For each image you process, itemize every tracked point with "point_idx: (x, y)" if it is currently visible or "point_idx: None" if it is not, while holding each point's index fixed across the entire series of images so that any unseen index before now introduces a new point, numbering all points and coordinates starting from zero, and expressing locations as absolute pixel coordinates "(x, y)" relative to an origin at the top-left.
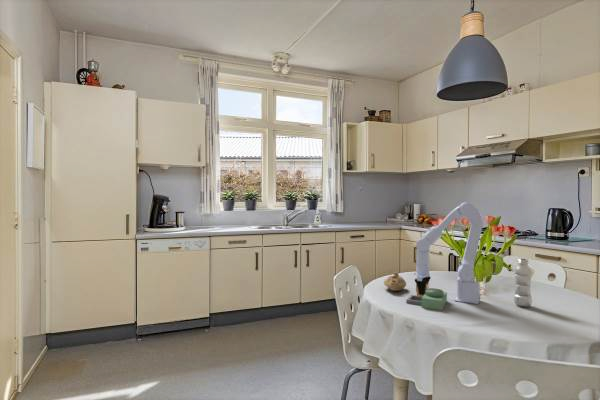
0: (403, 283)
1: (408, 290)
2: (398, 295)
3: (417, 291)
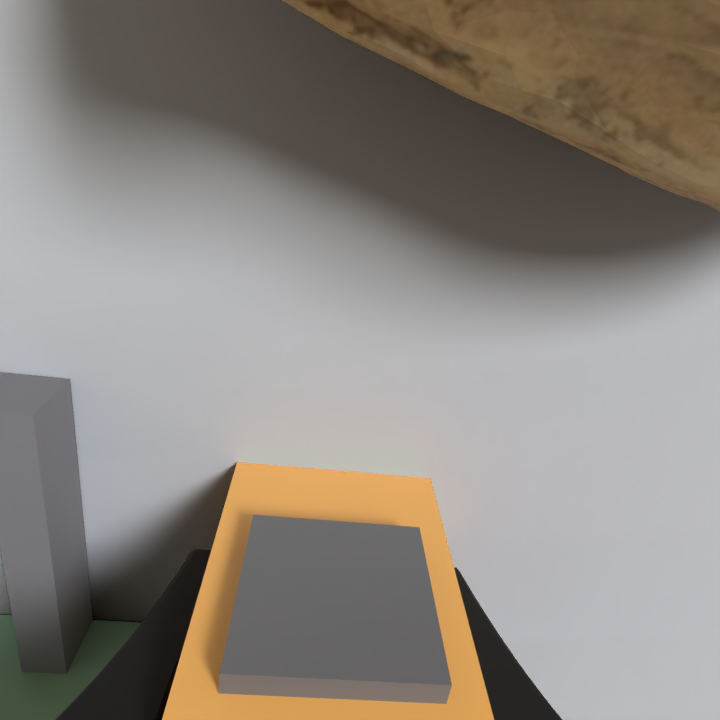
0: (717, 150)
1: (704, 251)
2: (128, 52)
3: (216, 554)
